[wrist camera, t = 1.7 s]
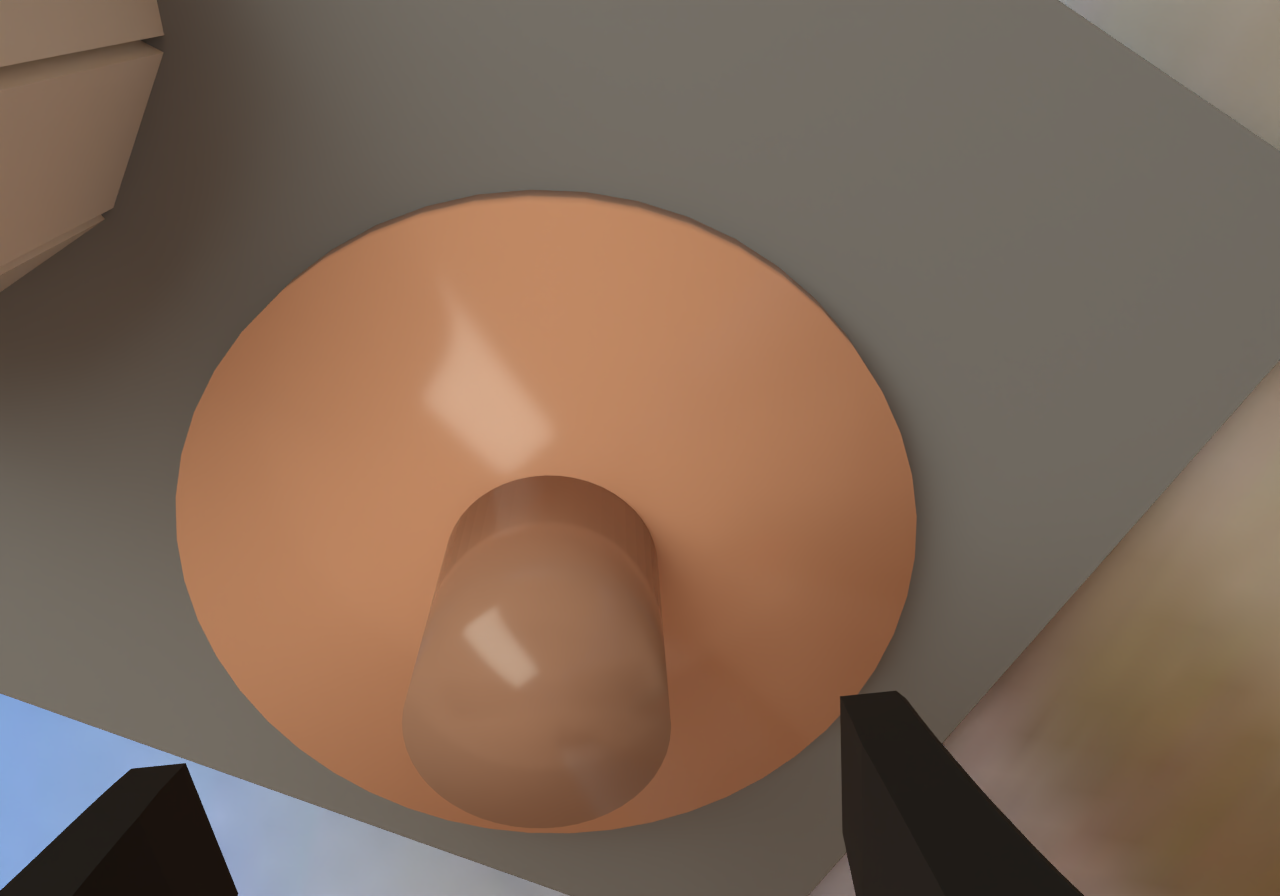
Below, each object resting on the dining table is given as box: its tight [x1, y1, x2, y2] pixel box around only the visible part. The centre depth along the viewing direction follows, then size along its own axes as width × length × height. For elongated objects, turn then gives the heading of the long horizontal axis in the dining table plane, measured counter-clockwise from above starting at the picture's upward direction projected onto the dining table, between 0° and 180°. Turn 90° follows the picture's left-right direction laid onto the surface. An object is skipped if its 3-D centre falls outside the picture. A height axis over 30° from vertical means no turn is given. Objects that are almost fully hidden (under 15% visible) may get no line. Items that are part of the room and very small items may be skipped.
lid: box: [176, 190, 917, 833], centre depth 14 cm, size 11×11×4 cm
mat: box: [0, 0, 1280, 896], centre depth 14 cm, size 28×17×1 cm, turn 61°
